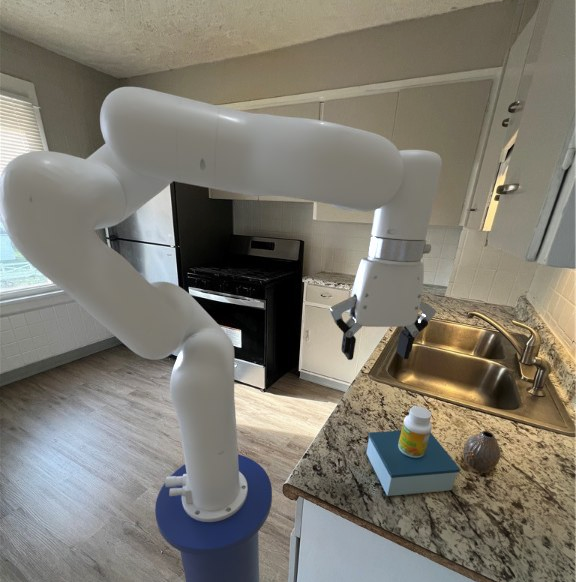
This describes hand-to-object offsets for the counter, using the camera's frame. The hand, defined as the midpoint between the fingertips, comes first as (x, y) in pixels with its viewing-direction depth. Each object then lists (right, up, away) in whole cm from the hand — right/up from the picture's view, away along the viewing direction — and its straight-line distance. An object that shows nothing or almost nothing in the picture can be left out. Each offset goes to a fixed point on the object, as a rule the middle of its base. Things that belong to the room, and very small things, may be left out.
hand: (375, 356), depth 53 cm
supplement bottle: (+11, -20, +13) cm, 27 cm away
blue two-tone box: (+11, -25, +16) cm, 32 cm away
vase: (+28, -25, +18) cm, 42 cm away
